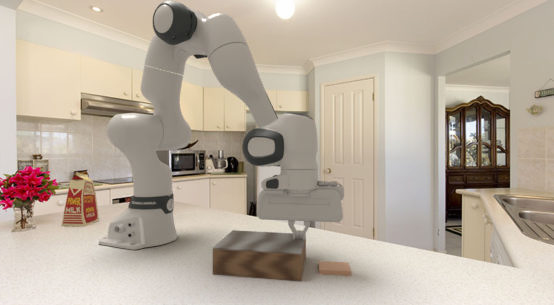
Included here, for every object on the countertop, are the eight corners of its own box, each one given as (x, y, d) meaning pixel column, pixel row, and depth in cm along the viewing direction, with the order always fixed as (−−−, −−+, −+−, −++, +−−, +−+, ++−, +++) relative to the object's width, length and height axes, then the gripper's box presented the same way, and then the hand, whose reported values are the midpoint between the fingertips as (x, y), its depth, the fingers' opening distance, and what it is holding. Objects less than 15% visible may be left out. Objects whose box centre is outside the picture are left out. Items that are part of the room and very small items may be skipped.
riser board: (212, 274, 63) (212, 247, 63) (232, 252, 77) (232, 230, 77) (301, 281, 60) (301, 253, 60) (305, 256, 74) (305, 233, 74)
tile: (350, 271, 63) (350, 278, 63) (348, 262, 68) (348, 269, 68) (319, 269, 64) (319, 276, 64) (318, 261, 69) (318, 267, 69)
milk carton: (84, 226, 104) (84, 172, 104) (60, 226, 104) (60, 172, 104) (100, 220, 113) (100, 170, 113) (78, 220, 113) (77, 170, 113)
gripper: (343, 180, 68) (343, 237, 68) (260, 179, 72) (261, 233, 72) (344, 182, 62) (345, 245, 62) (254, 181, 66) (255, 241, 66)
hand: (299, 239), depth 67 cm, fingers closed
